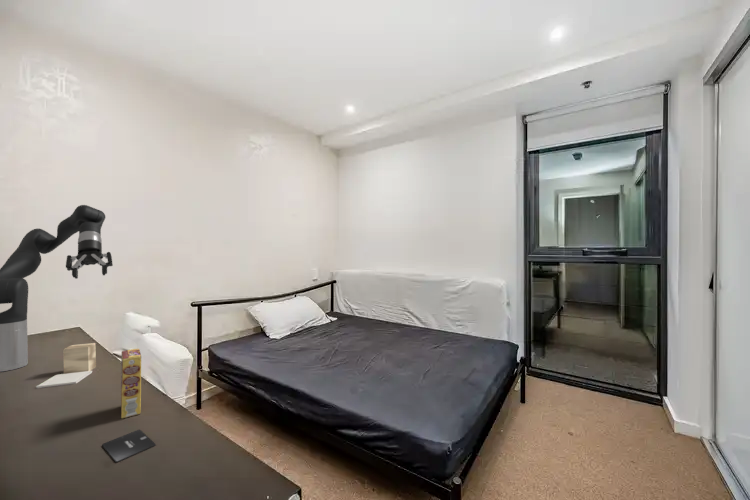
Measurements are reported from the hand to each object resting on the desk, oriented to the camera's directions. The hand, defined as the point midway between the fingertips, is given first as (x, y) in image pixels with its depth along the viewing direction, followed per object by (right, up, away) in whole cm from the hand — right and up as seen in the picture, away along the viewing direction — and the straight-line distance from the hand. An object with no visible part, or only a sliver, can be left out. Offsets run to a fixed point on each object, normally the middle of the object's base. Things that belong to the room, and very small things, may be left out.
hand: (89, 276), depth 128 cm
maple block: (+10, -33, -15) cm, 38 cm away
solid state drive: (+62, -33, -59) cm, 92 cm away
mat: (+13, -33, -23) cm, 42 cm away
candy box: (+51, -33, -44) cm, 75 cm away
